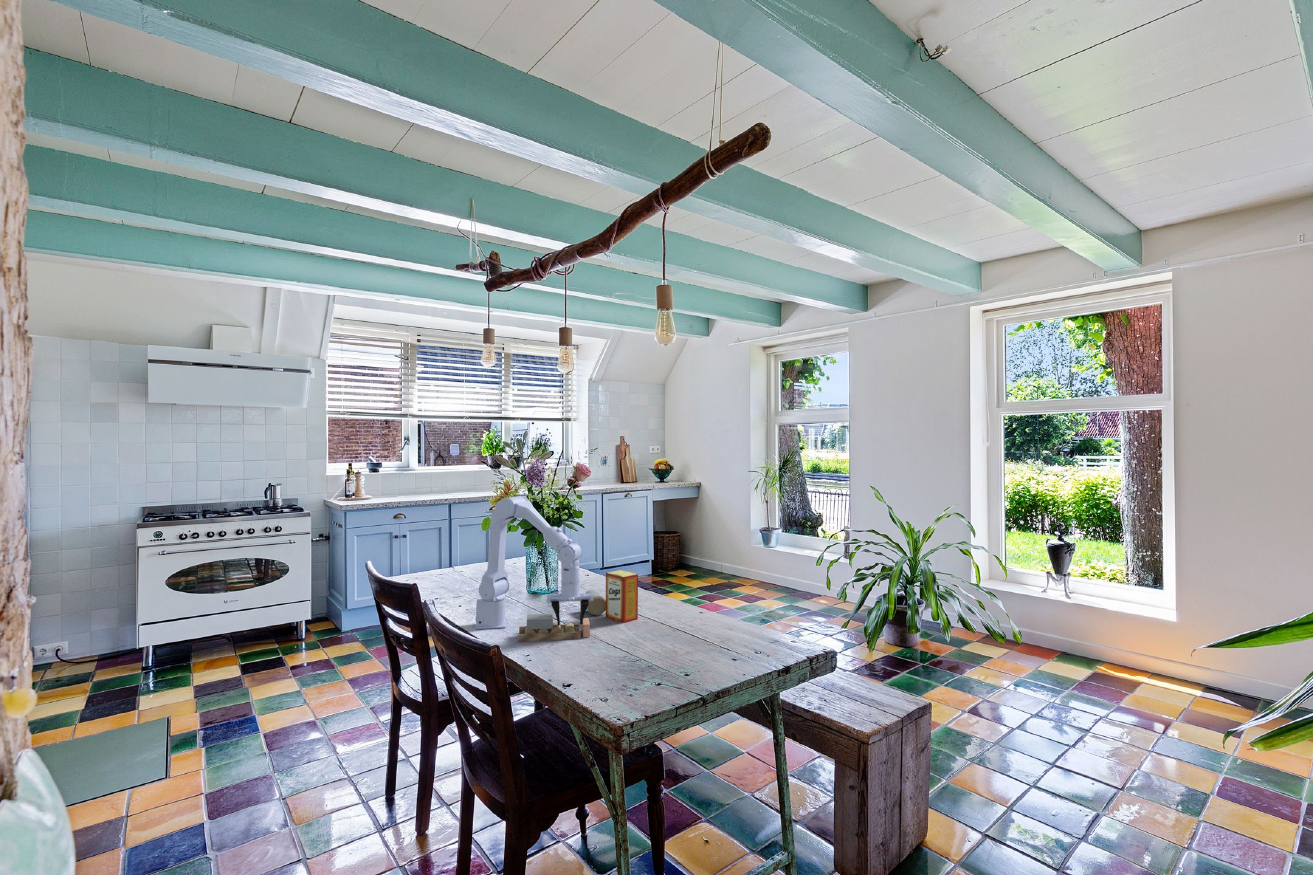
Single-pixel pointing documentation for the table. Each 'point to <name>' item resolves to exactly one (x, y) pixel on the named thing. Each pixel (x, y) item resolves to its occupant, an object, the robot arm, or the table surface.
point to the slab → (539, 621)
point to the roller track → (544, 634)
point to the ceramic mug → (596, 603)
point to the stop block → (586, 627)
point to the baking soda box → (622, 596)
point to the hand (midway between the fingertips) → (570, 623)
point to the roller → (569, 627)
